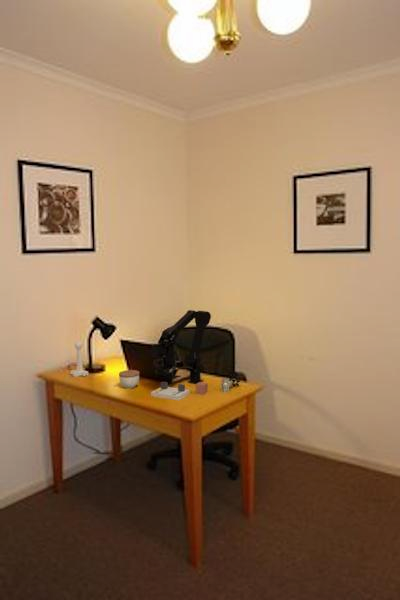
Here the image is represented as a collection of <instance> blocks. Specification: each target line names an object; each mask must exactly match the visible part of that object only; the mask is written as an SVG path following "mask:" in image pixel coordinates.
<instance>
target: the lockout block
mask: <svg viewBox="0 0 400 600" xmlns="http://www.w3.org/2000/svg"><path fill="white" fill-rule="evenodd" d="M208 392H209V391H208V382H204V381H202V382H199V383H197V384H196V383H195V394H196V395H201V396H202V395H203V396H205V395H206V394H208Z"/></svg>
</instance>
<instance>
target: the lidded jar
mask: <svg viewBox="0 0 400 600" xmlns="http://www.w3.org/2000/svg"><path fill="white" fill-rule="evenodd" d="M118 378H119V383H120V385H121V386H122V387H123V388H124V389H129V390H130V389H134V388H136V386H137V385H138V384H139V381H140V371H139V370H134V369H128V370H122V371H120V372H118Z"/></svg>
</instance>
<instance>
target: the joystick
mask: <svg viewBox="0 0 400 600" xmlns="http://www.w3.org/2000/svg"><path fill="white" fill-rule="evenodd" d="M74 348H75V349H76V369H72V370H70V371H69V373H70V375H72V377H73V378H78V377H80V376H82V377H86V376H87V377H88V376H89V371H88V370H84V369H83V359H82V358H83V357H82V348H83V342H81V341H78V340H77V341H76V342H75V343H74Z"/></svg>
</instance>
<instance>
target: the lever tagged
mask: <svg viewBox="0 0 400 600" xmlns="http://www.w3.org/2000/svg"><path fill="white" fill-rule="evenodd" d="M168 384H169V381H161V382H160V387H161V388H163V389H167V388H168V387H169V385H168Z"/></svg>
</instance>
